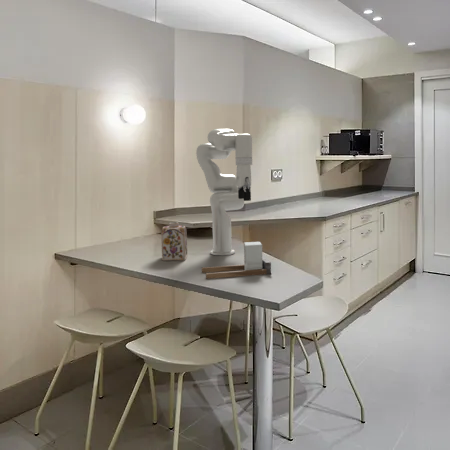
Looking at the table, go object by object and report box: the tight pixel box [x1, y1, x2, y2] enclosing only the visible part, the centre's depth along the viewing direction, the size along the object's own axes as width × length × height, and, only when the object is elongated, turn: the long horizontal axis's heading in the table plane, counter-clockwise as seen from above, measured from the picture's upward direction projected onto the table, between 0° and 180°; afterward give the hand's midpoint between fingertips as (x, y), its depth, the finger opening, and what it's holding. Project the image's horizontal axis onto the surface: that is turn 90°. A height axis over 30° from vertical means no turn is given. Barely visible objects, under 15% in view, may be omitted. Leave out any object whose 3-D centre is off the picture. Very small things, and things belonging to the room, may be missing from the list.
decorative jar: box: [160, 221, 188, 262], centre depth 247 cm, size 12×12×18 cm
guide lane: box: [201, 256, 272, 279], centre depth 216 cm, size 12×28×5 cm, turn 102°
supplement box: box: [243, 241, 263, 270], centre depth 217 cm, size 7×7×13 cm
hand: (244, 199), depth 227 cm, fingers open, 9 cm apart
